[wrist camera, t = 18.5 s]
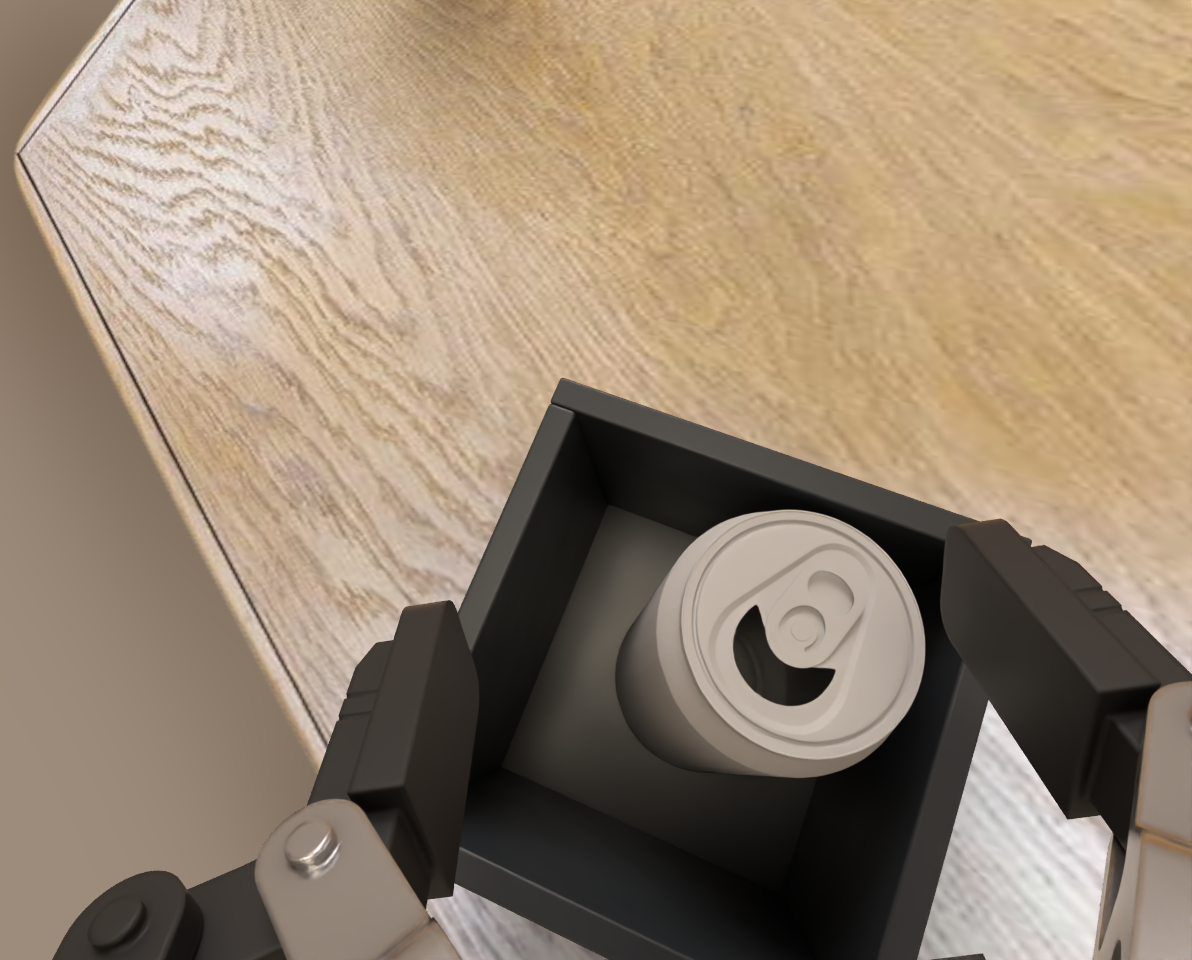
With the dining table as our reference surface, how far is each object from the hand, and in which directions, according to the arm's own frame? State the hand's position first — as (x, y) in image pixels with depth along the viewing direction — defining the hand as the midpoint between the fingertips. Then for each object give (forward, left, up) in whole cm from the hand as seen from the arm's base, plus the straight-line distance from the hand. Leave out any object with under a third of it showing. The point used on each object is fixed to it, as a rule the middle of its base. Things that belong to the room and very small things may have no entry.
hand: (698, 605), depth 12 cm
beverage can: (-1, -1, -17) cm, 17 cm away
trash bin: (-1, -1, -18) cm, 18 cm away
